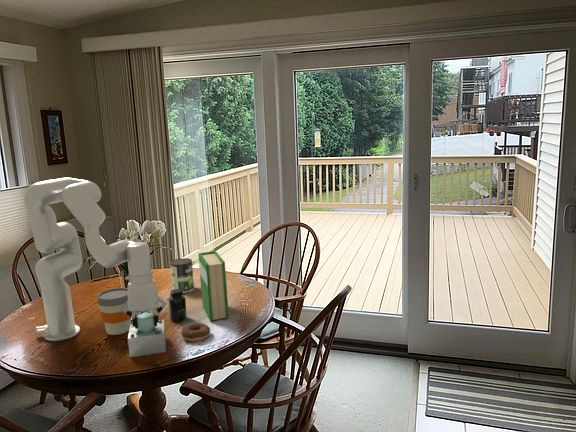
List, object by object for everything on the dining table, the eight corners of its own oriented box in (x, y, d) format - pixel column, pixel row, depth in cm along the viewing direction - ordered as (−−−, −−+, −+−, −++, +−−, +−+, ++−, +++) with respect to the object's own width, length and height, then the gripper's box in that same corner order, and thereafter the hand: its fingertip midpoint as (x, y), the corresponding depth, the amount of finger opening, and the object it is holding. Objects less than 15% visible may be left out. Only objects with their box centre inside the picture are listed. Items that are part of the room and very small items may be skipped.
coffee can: (198, 286, 232) (195, 258, 229) (188, 294, 222) (185, 265, 219) (179, 285, 235) (176, 257, 232) (168, 292, 225) (165, 264, 222)
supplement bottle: (183, 322, 191) (180, 294, 189) (167, 321, 193) (164, 293, 190) (189, 315, 198) (187, 288, 196) (174, 314, 199) (171, 287, 197)
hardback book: (228, 319, 193) (224, 262, 188) (210, 322, 190) (206, 264, 186) (219, 303, 209) (215, 250, 204) (202, 306, 207) (198, 253, 202)
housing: (129, 357, 165) (127, 336, 163) (132, 342, 176) (130, 322, 175) (165, 352, 168) (163, 331, 166) (165, 337, 179) (163, 318, 178)
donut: (177, 336, 180) (176, 326, 179) (202, 328, 186) (201, 318, 185) (189, 346, 172) (188, 336, 171) (215, 337, 178) (214, 327, 177)
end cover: (139, 352, 169) (135, 321, 166) (140, 344, 174) (137, 314, 172) (157, 349, 170) (153, 318, 167) (157, 342, 176) (154, 312, 173)
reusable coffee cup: (132, 320, 196) (128, 285, 193) (138, 331, 185) (133, 295, 182) (99, 327, 190) (95, 291, 187) (103, 339, 179) (98, 302, 176)
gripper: (113, 284, 161) (119, 334, 165) (166, 278, 165) (171, 327, 169) (116, 277, 168) (121, 325, 172) (166, 271, 172) (171, 318, 176)
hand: (146, 325), depth 170 cm, fingers closed on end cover, 6 cm apart
